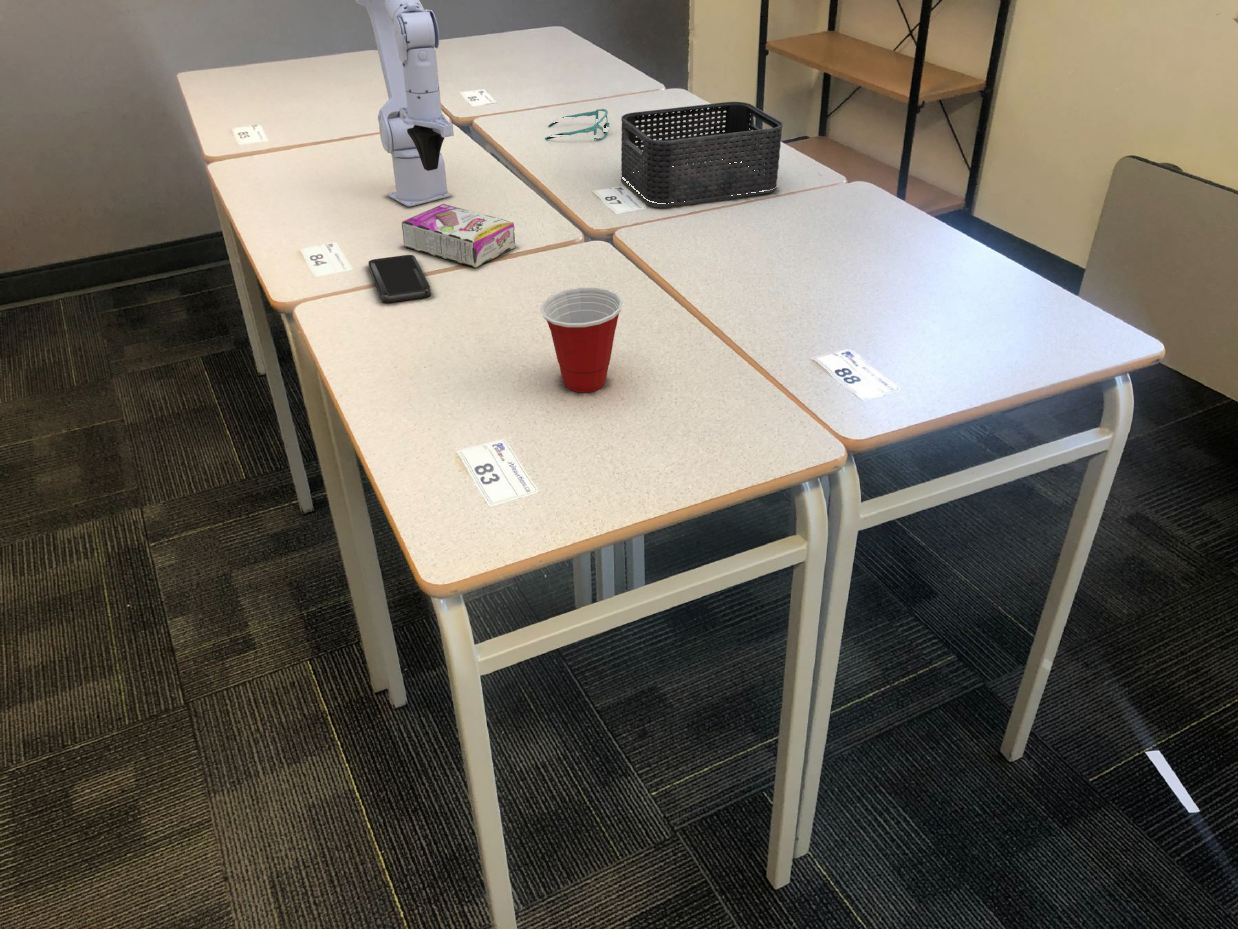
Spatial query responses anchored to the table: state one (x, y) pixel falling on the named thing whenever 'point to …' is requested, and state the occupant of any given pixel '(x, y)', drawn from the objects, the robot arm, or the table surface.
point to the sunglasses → (586, 130)
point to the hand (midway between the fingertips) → (430, 168)
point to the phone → (399, 278)
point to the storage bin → (700, 154)
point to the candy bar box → (459, 235)
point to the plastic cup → (583, 334)
